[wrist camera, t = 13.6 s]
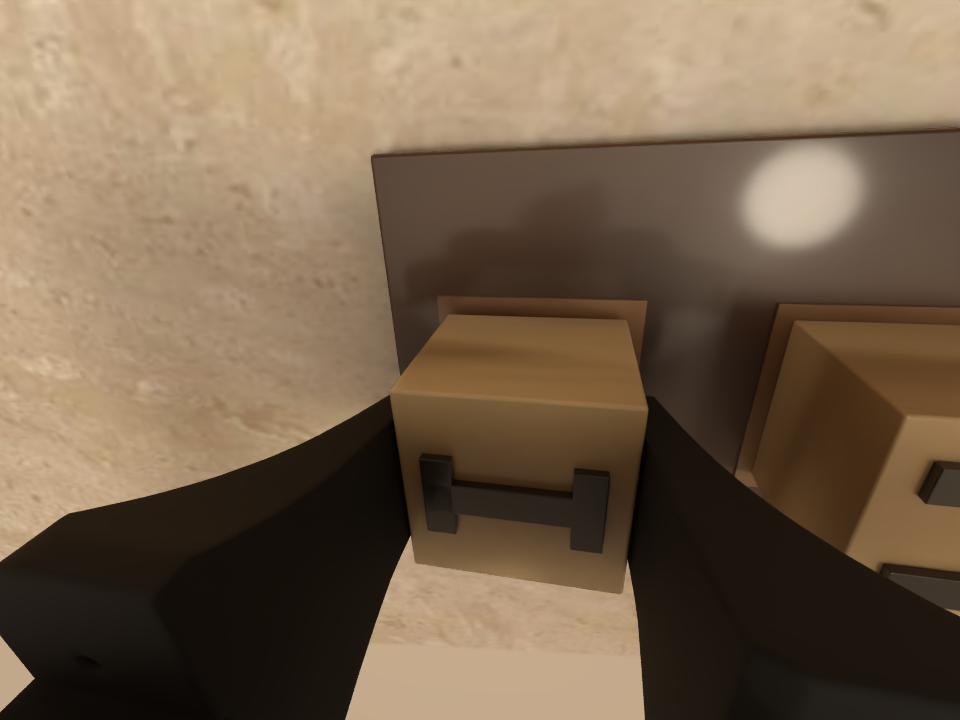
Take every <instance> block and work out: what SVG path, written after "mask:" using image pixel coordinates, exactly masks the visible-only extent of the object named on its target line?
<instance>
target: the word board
mask: <svg viewBox="0 0 960 720" xmlns="http://www.w3.org/2000/svg"><path fill="white" fill-rule="evenodd" d="M371 163H372V171H373V178H374V185H375V193H376V200H377V207H378V215H379V222H380V230H381V237H382V244H383V252H384V259H385V266H386V274H387V281H388V289H389V296H390V303H391V311H392V318H393V325H394V333H395V340H396V348H397V355H398V362H399V370H400V376H401V375H402V374H403V372H404V371H405V370H406V368H407V367H408V366H409V365H410V363H411V362H412V361H413V359H414V358H415V357H416V356H417V354H418V353H419V352H420V350H421V349H422V348H423V347H424V345H425V344H426V343H427V341H428V340H429V339H430V338H431V336H432V335H433V334H434V332H435V331H436V330H437V329H438V327H439V326H440V325H441V323H442V322H443V321H444V320H445V318H446V317H447V316H448V315H450V314H452V315H484V316H517V317H549V318H581V319H614V320H626V321H627V323H628V327H629V331H630V335H631V339H632V343H633V348H634V352H635V356H636V360H637V364H638V368H639V372H640V376H641V381H642V385H643V389H644V393H645V396H654V397H655V398H656V399H657V401H658V402H659V403H660V404H661V405H662V406H663V407H664V408H665V409H666V410H667V411H668V413H669V414H670V415H671V416H672V417H673V418H674V419H675V420H676V421H677V422H678V423H679V424H680V426H681V427H682V428H683V429H684V430H685V431H686V432H687V433H688V434H689V435H690V436H691V437H692V438H693V439H694V440H695V441H696V442H697V443H698V444H699V445H700V446H701V447H702V448H703V449H704V450H705V451H706V452H708V453H709V454H710V455H711V456H712V457H713V458H714V459H715V460H716V461H717V462H719V463H720V464H721V465H722V466H723V467H724V468H725V469H727V470H728V471H729V472H730V473H731V474H732V475H733V476H735V477H736V478H737V479H738V480H739V481H741V482H742V483H743V484H744V485H746V486H747V487H748V488H749V489H751V490H752V491H753V492H755V493H756V494H757V495H759V496H760V497H761V498H763V499H764V497H763V495H762V493H761V491H760V489H759V487H758V485H757V484H756V482H755V480H754V478H753V476H752V470H753V466H754V463H755V459H756V456H757V452H758V449H759V445H760V441H761V438H762V434H763V431H764V427H765V423H766V420H767V416H768V413H769V409H770V405H771V402H772V398H773V395H774V391H775V388H776V384H777V380H778V377H779V373H780V370H781V366H782V362H783V359H784V355H785V352H786V348H787V345H788V341H789V337H790V334H791V330H792V327H793V323H794V321H796V320H799V321H834V322H868V323H903V324H937V325H960V127H951V128H929V129H908V130H886V131H864V132H843V133H821V134H799V135H778V136H756V137H734V138H712V139H691V140H669V141H647V142H626V143H604V144H582V145H561V146H539V147H517V148H496V149H474V150H452V151H430V152H409V153H387V154H374V155H372V156H371ZM764 500H765V499H764Z"/></svg>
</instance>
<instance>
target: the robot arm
mask: <svg viewBox="0 0 960 720" xmlns="http://www.w3.org/2000/svg"><path fill="white" fill-rule="evenodd" d="M645 397H646V401H647V405H648V409H649V410H648V417H647V425H646V432H645V439H644V446H643V453H642V460H641V467H640V474H639V481H638V488H637V495H636V502H635V509H634V516H633V523H632V530H631V537H630V544H629V552H628V563H629V568H630V574H631V580H632V585H633V591H634V597H635V603H636V611H637V618H638V629H639V642H640V655H641V668H642V681H643V696H644V711H645V720H960V616H958V615H956V614H954V613H952V612H950V611H948V610H946V609H944V608H942V607H940V606H938V605H936V604H934V603H932V602H930V601H928V600H926V599H924V598H923V597H921V596H919V595H917V594H915V593H914V592H912V591H910V590H908V589H906V588H904V587H903V586H901V585H899V584H897V583H895V582H893V581H892V580H890V579H888V578H886V577H884V576H883V575H881V574H879V573H877V572H875V571H873V570H872V569H870V568H868V567H867V566H865V565H863V564H862V563H860V562H858V561H856V560H855V559H853V558H851V557H850V556H848V555H846V554H845V553H843V552H841V551H840V550H838V549H836V548H835V547H833V546H832V545H830V544H829V543H827V542H825V541H824V540H822V539H821V538H819V537H818V536H816V535H814V534H813V533H811V532H810V531H808V530H807V529H805V528H803V527H802V526H800V525H799V524H797V523H796V522H795V521H793V520H792V519H790V518H789V517H787V516H786V515H784V514H783V513H781V512H780V511H779V510H777V509H776V508H775V507H773V506H772V505H771V504H769V503H768V502H767V501H765V500H764V499H763V498H761V497H760V496H759V495H757V494H756V493H755V492H753V491H752V490H751V489H749V488H748V487H747V486H746V485H744V484H743V483H742V482H741V481H739V480H738V479H737V478H736V477H735V476H733V475H732V474H731V473H730V472H729V471H728V470H727V469H725V468H724V467H723V466H722V465H721V464H720V463H719V462H717V461H716V460H715V459H714V458H713V457H712V456H711V455H710V454H709V453H708V452H706V451H705V450H704V449H703V448H702V447H701V446H700V445H699V444H698V443H697V442H696V441H695V440H694V439H693V438H692V437H691V436H690V435H689V434H688V433H687V432H686V431H685V430H684V429H683V428H682V427H681V426H680V424H679V423H678V422H677V421H676V420H675V419H674V418H673V417H672V416H671V415H670V414H669V413H668V411H667V410H666V409H665V408H664V407H663V406H662V405H661V404H660V403H659V402H658V401H657V399H656V398H655V397H654V396H645ZM410 536H411V532H410V526H409V519H408V512H407V506H406V499H405V493H404V486H403V479H402V473H401V466H400V459H399V453H398V446H397V439H396V433H395V426H394V420H393V413H392V406H391V400H390V395H388V396H387V397H385V398H384V399H382V400H380V401H379V402H377V403H375V404H374V405H372V406H370V407H368V408H367V409H365V410H363V411H362V412H360V413H358V414H357V415H355V416H353V417H351V418H350V419H348V420H346V421H344V422H342V423H340V424H339V425H337V426H335V427H333V428H331V429H329V430H327V431H326V432H324V433H322V434H320V435H318V436H316V437H314V438H312V439H310V440H308V441H306V442H304V443H302V444H300V445H297V446H295V447H293V448H290V449H288V450H286V451H284V452H281V453H279V454H277V455H274V456H272V457H269V458H267V459H264V460H262V461H259V462H256V463H253V464H251V465H248V466H245V467H242V468H240V469H237V470H234V471H231V472H228V473H226V474H223V475H220V476H217V477H214V478H211V479H207V480H204V481H201V482H198V483H194V484H191V485H188V486H184V487H180V488H177V489H173V490H170V491H166V492H162V493H159V494H155V495H151V496H147V497H143V498H138V499H134V500H129V501H125V502H120V503H116V504H111V505H107V506H102V507H98V508H93V509H89V510H84V511H79V512H74V513H69V514H67V515H66V516H64V517H62V518H61V519H59V520H58V521H56V522H55V523H54V524H52V525H51V526H49V527H48V528H47V529H45V530H44V531H42V532H41V533H40V534H38V535H37V536H35V537H34V538H33V539H31V540H30V541H29V542H27V543H26V544H24V545H23V546H22V547H20V548H19V549H17V550H16V551H15V552H13V553H12V554H11V555H9V556H8V557H6V558H5V559H4V560H2V561H1V562H0V636H1V637H2V638H3V640H4V641H5V642H6V643H7V644H8V646H9V647H10V648H11V649H12V651H13V652H14V653H15V654H16V656H17V657H18V658H19V659H20V661H21V662H22V663H23V664H24V665H25V667H26V668H27V669H28V671H29V672H30V673H31V674H32V676H33V677H34V678H35V679H34V680H33V681H32V682H31V683H30V684H29V685H28V686H27V687H26V688H25V689H24V690H23V691H22V692H21V693H19V695H17V697H15V698H14V699H13V700H12V701H11V702H10V703H9V704H8V705H7V706H6V707H5V708H4V709H3V710H2V711H1V712H0V720H345V718H346V715H347V712H348V708H349V705H350V701H351V698H352V695H353V692H354V688H355V685H356V682H357V678H358V675H359V671H360V669H361V666H362V663H363V660H364V656H365V653H366V650H367V647H368V644H369V641H370V638H371V635H372V632H373V629H374V626H375V623H376V620H377V617H378V614H379V611H380V608H381V606H382V603H383V600H384V597H385V594H386V591H387V588H388V586H389V583H390V580H391V578H392V575H393V573H394V571H395V568H396V566H397V563H398V561H399V559H400V557H401V555H402V553H403V551H404V548H405V546H406V544H407V542H408V540H409V538H410Z"/></svg>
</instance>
